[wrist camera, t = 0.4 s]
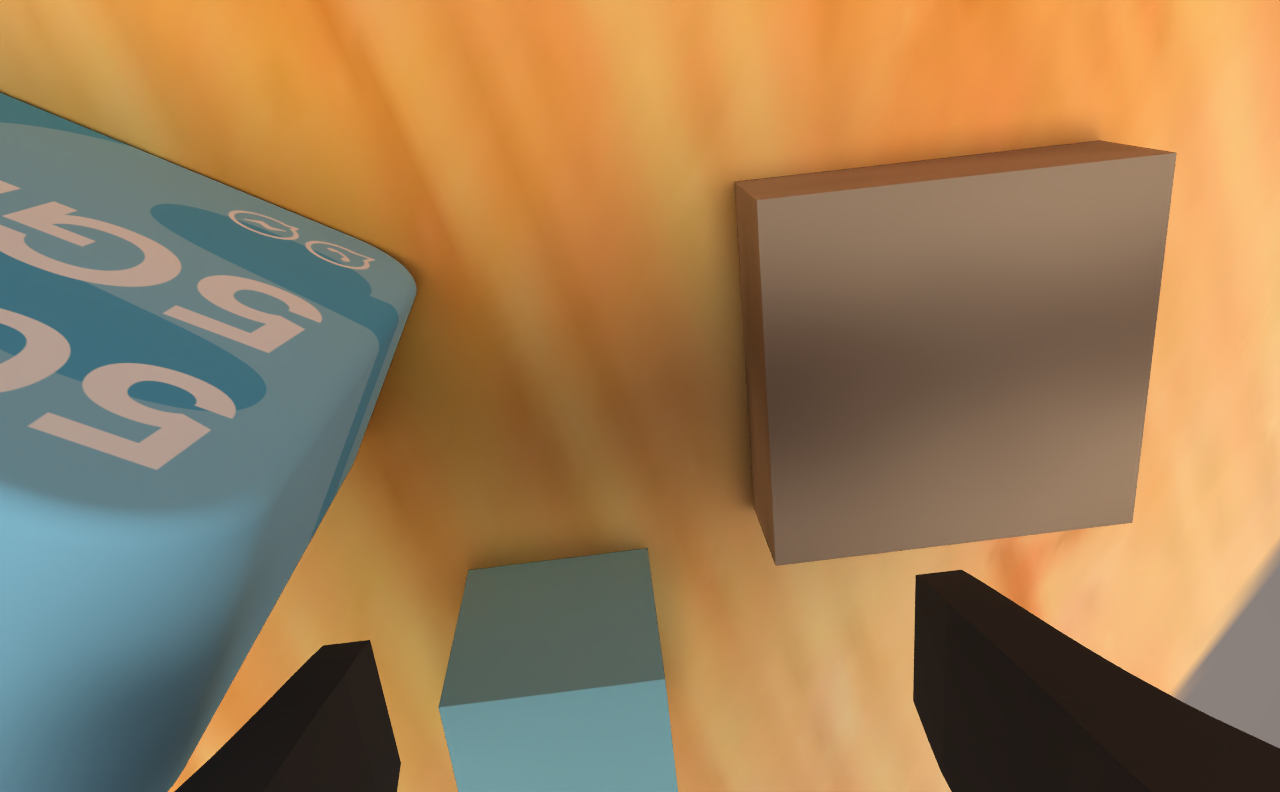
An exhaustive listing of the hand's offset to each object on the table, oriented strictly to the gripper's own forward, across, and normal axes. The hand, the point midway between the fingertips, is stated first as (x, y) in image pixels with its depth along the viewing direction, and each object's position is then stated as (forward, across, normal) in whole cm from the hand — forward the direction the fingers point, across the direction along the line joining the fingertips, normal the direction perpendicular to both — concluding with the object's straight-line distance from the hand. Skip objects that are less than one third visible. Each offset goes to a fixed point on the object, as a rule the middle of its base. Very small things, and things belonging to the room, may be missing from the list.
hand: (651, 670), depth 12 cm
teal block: (+10, +2, +6) cm, 12 cm away
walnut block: (+10, -7, -1) cm, 12 cm away
